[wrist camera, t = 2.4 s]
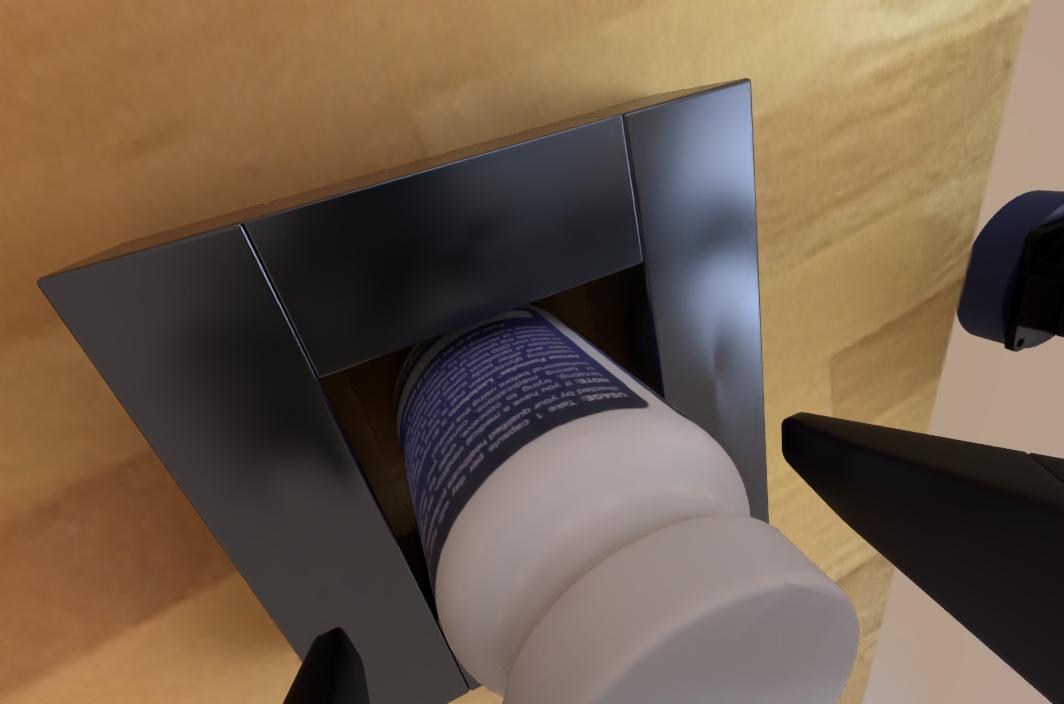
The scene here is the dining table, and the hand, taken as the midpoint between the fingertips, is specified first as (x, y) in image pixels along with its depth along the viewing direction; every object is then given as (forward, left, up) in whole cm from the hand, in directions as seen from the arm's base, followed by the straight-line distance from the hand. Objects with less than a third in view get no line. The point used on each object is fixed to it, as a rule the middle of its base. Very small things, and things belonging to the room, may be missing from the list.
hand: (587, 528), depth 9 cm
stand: (0, 0, -6) cm, 6 cm away
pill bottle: (0, 0, -6) cm, 6 cm away
